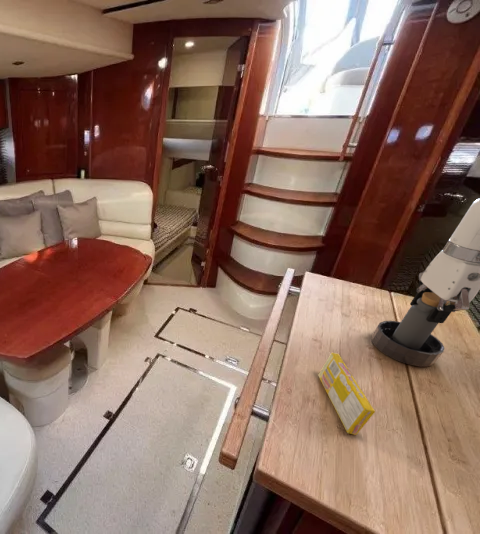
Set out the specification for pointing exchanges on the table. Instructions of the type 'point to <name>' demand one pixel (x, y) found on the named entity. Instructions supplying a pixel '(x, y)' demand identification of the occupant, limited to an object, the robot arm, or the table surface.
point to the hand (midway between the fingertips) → (425, 313)
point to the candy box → (345, 394)
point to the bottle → (417, 322)
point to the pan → (403, 354)
